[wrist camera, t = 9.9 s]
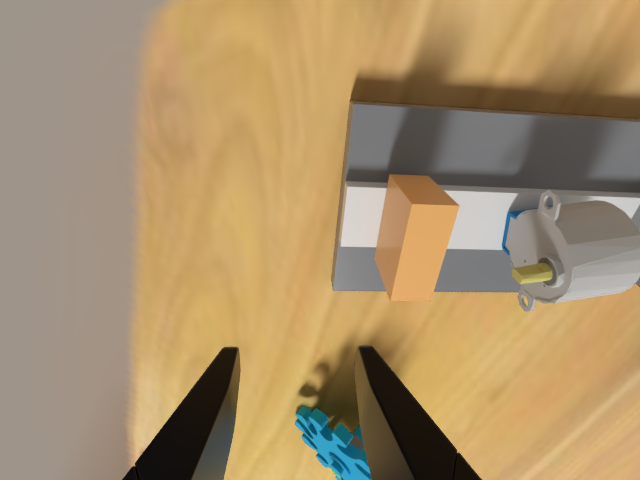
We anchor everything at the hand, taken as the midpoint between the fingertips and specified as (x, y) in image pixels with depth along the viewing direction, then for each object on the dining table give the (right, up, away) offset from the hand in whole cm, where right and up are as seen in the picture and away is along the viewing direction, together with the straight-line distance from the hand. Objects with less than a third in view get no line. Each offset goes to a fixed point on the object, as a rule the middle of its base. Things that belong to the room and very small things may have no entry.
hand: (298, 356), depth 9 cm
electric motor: (+12, +4, +9) cm, 15 cm away
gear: (+2, -13, +21) cm, 24 cm away
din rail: (+11, +5, +11) cm, 16 cm away
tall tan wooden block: (+5, +4, +8) cm, 11 cm away
